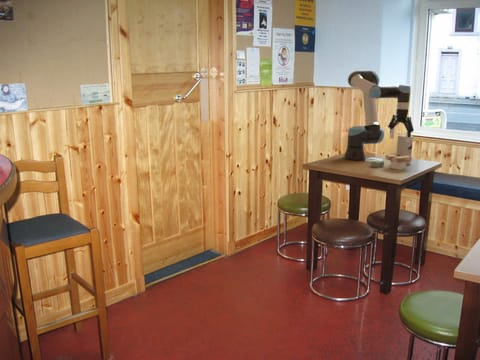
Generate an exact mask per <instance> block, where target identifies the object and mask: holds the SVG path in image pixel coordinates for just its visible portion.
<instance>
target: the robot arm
mask: <svg viewBox="0 0 480 360" xmlns="http://www.w3.org/2000/svg"><path fill="white" fill-rule="evenodd" d="M347 83H348V85H349V86H350V87H351V88H353V89H359V90H360V91H361V92H362V95H363V96H362V97H363V108H364V109H363V110H364V118H365V120H364V121H365V124H364V125H358V126H357V125H356V126H351V127H349V128H348V130H347V146H346V149H345V152H344V156H343V158H344V159H346V160H350V161H364V160H365V159H366V155H365V150H364V149H365V148H364V146H365V145H366V144H367V145H372V144H374V145H376V144H381V143H382V142H383V140H384V137H385V131H384V128H382V127H381V125H380V123H379V122H378V111H377V102H376V99H397V102H396V112H395V114H392V118H391V120H389V121H390V122H389V124H388V126H387V127H388V128H389V129H390V130H389V134H390V136H389V139H392V140H393V139H395V138H394V137H395V127H396V126H397V125H398V124H399V123H402V124H403V125H404V128H405V129H406V134H405V135H406V142H409V139H410V136H411V135H412V132H414V131H415V129H414V125H413V122H412V117H411V116H408V115H409V108H410V107H409V106H410V98H411V85H409V84H399V85H398V86H395V85H393V86H379V85H380V77H379V74H378V73H377V72H376V71H373V70H356V71H355V70H354V71H352V72H351V73H350V74H349V75H348V77H347Z"/></svg>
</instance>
